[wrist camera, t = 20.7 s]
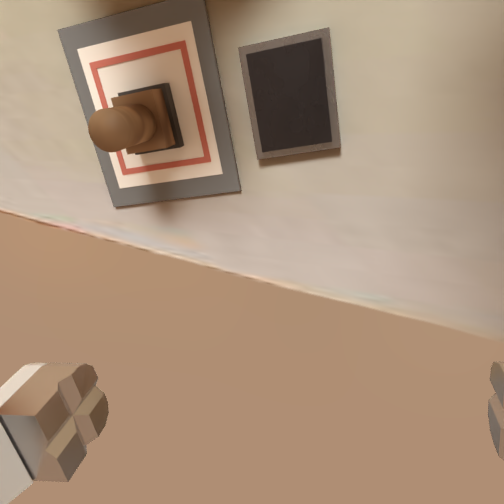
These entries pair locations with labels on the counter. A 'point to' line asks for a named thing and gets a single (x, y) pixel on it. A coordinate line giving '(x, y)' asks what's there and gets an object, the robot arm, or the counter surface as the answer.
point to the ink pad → (291, 94)
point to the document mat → (148, 74)
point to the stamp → (138, 122)
